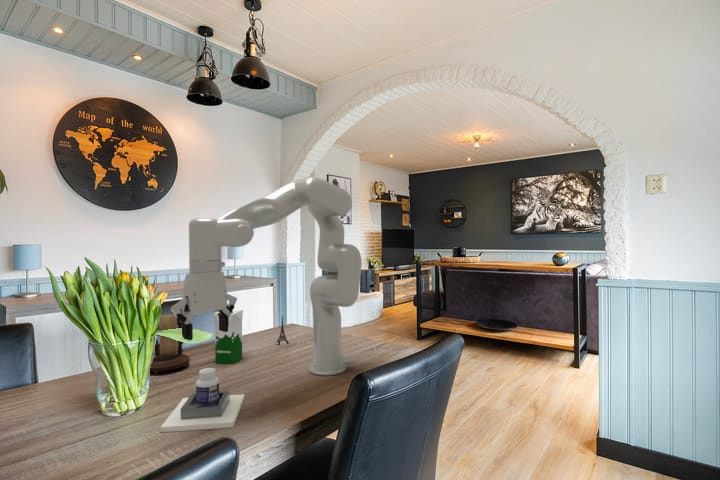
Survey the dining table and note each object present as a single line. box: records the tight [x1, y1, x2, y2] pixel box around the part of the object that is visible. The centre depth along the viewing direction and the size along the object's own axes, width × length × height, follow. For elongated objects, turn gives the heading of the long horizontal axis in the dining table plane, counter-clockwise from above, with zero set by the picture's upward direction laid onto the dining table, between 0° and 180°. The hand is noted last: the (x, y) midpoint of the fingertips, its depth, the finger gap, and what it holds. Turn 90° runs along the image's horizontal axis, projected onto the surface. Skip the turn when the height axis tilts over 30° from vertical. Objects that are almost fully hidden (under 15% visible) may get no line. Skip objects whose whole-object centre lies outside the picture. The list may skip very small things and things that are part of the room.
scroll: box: [149, 312, 191, 376], centre depth 129 cm, size 15×15×20 cm
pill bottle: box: [195, 367, 220, 406], centre depth 95 cm, size 5×5×10 cm
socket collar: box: [181, 390, 231, 419], centre depth 95 cm, size 9×9×2 cm
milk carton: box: [213, 309, 244, 365], centre depth 137 cm, size 9×9×20 cm
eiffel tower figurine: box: [276, 315, 290, 346], centre depth 159 cm, size 15×10×13 cm
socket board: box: [160, 393, 245, 433], centre depth 95 cm, size 16×16×1 cm
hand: (206, 335), depth 95 cm, fingers open, 9 cm apart
